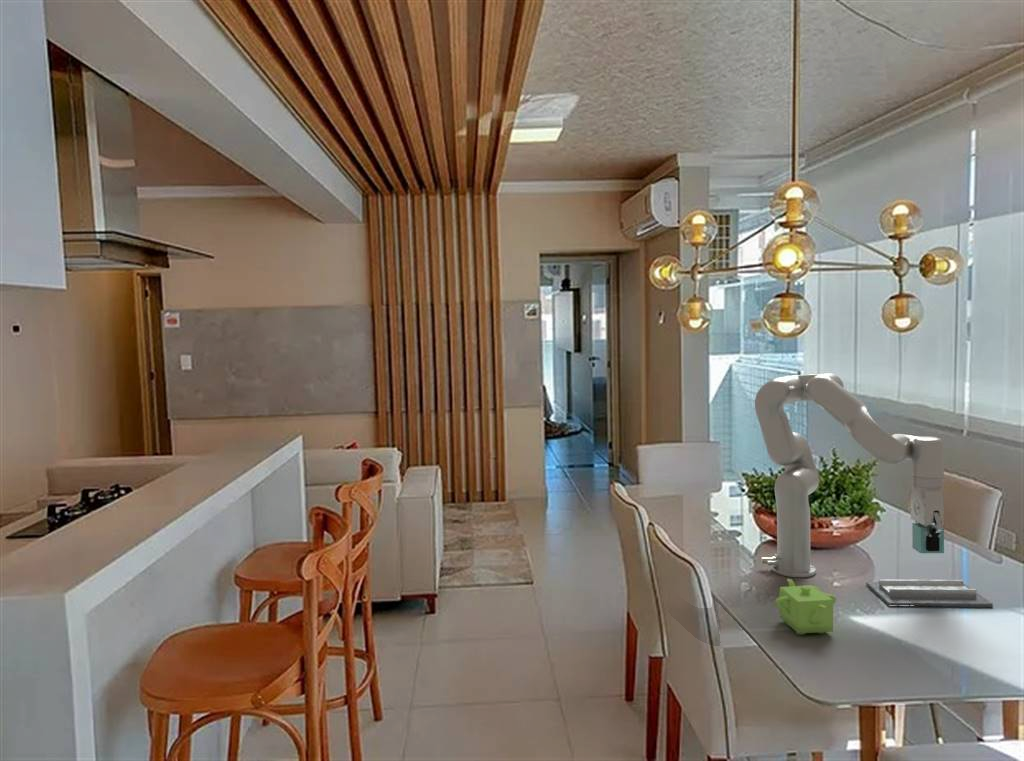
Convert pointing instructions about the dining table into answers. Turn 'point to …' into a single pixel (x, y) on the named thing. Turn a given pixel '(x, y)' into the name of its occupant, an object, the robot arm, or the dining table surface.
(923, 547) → the block
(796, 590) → the teapot
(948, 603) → the rail board
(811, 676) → the dining table surface
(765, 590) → the dining table surface
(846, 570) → the dining table surface
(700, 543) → the dining table surface
